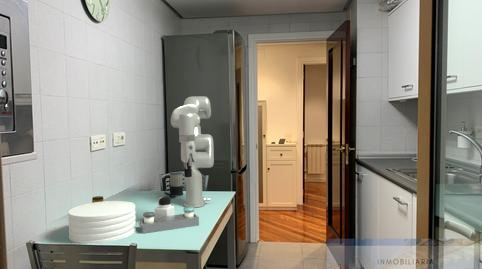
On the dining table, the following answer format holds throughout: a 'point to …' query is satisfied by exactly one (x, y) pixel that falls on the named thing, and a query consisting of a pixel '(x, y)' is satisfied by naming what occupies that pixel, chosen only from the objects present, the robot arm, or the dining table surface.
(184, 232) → the dining table surface
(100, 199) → the condiment
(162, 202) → the medicine bottle
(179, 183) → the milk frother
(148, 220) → the knob
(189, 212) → the knob
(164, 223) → the mount
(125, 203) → the plate stack
